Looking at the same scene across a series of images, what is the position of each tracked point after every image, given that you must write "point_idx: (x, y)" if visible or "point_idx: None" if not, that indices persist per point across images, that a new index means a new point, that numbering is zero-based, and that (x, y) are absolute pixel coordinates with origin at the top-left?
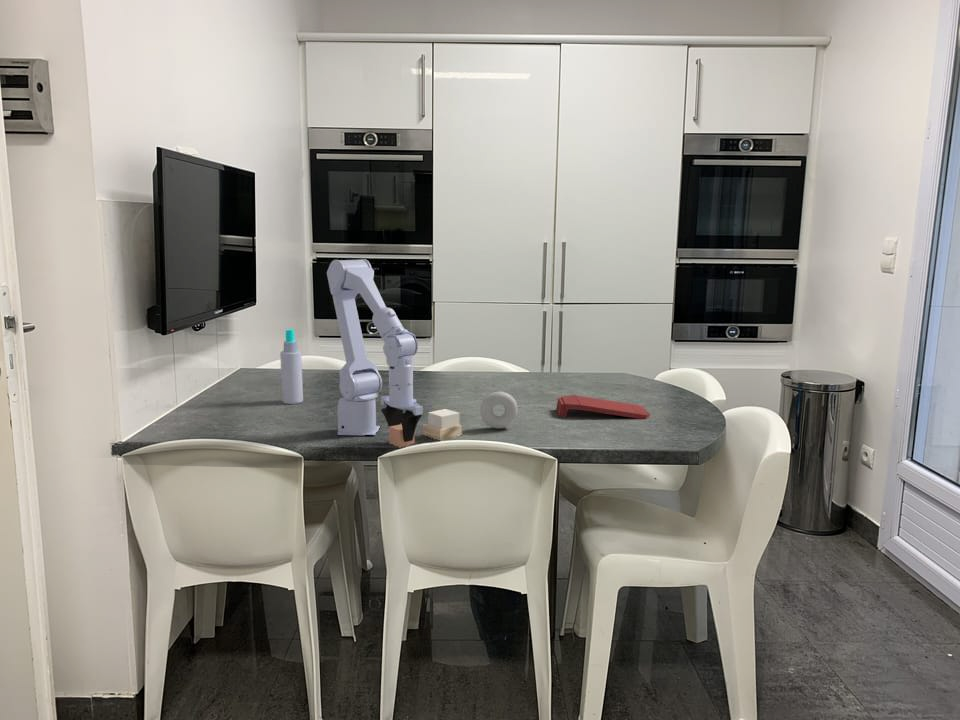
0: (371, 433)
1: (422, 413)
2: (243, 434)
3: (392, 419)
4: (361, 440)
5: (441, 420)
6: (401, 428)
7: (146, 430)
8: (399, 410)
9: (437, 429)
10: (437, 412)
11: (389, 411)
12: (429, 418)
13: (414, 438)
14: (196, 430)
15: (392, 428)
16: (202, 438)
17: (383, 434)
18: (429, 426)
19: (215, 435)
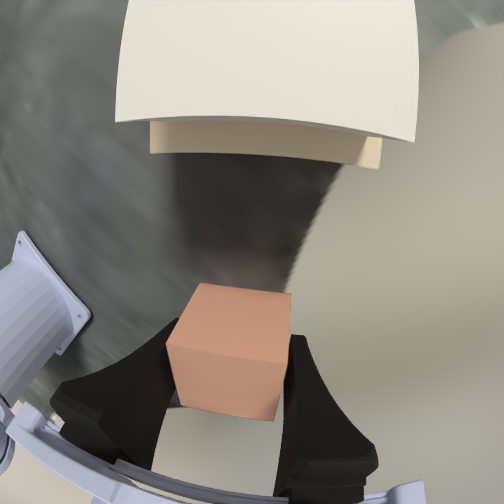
0: (79, 314)
1: (422, 484)
2: (38, 394)
3: (156, 413)
4: (119, 358)
5: (387, 137)
6: (249, 403)
7: (23, 403)
8: (125, 427)
9: (344, 163)
10: (197, 31)
11: (144, 460)
12: (169, 119)
13: (289, 313)
14: (22, 393)
15: (211, 409)
16: (50, 415)
17: (82, 273)
18: (226, 148)
19: (40, 404)
